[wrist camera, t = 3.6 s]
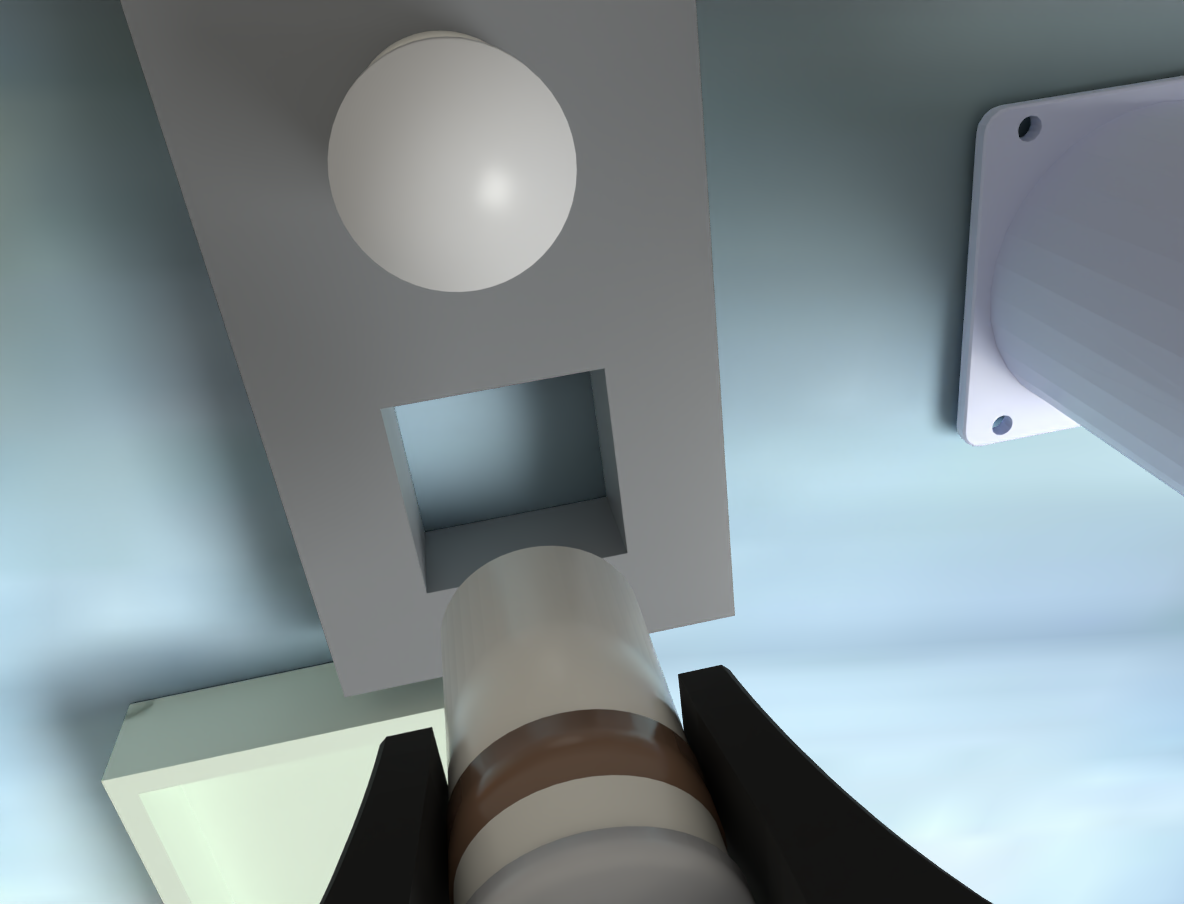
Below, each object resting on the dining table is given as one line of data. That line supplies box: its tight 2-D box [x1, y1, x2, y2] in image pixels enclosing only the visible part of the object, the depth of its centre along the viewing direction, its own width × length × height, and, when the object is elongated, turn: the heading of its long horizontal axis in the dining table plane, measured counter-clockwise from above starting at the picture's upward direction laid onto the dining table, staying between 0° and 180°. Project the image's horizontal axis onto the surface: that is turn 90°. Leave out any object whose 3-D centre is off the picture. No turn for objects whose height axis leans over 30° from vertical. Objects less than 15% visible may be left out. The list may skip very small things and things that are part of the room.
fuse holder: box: [120, 0, 735, 697], centre depth 17 cm, size 9×16×6 cm, turn 7°
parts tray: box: [101, 662, 448, 904], centre depth 25 cm, size 11×10×2 cm
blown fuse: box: [441, 546, 755, 904], centre depth 13 cm, size 3×3×6 cm
